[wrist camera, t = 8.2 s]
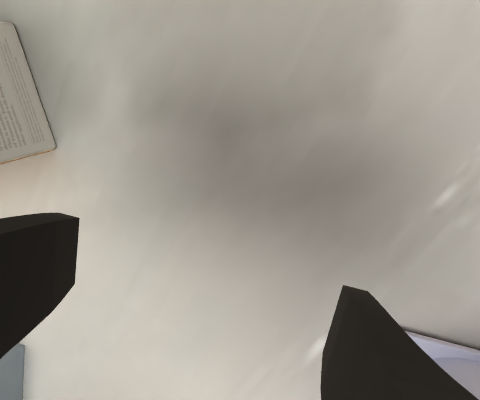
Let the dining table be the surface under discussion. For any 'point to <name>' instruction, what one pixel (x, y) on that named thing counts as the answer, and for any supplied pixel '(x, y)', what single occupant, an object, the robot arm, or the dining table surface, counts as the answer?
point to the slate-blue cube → (12, 374)
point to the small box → (19, 103)
